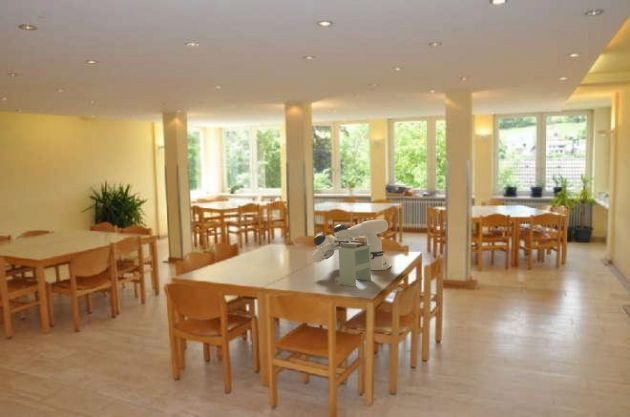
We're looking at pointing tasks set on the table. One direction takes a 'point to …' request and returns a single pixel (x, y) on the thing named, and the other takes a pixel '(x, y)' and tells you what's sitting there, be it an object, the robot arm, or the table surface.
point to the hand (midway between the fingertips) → (341, 241)
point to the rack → (354, 262)
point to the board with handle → (349, 242)
